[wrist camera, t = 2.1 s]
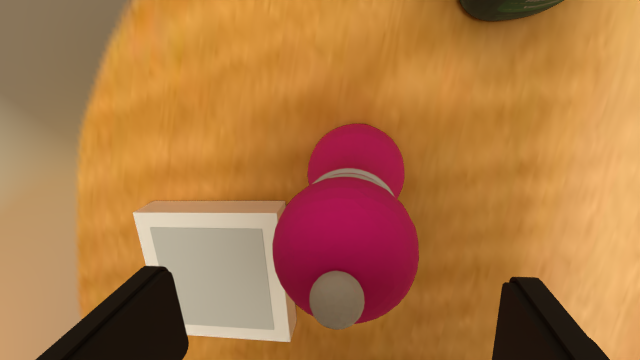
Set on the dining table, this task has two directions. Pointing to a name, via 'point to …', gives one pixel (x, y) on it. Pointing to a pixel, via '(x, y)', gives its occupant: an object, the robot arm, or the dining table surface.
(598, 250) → the dining table surface
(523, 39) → the dining table surface
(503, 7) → the coffee jar
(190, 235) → the stand
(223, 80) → the dining table surface
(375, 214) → the pepper mill
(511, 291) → the robot arm
